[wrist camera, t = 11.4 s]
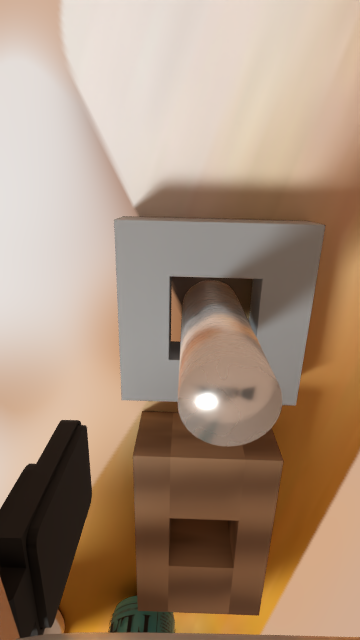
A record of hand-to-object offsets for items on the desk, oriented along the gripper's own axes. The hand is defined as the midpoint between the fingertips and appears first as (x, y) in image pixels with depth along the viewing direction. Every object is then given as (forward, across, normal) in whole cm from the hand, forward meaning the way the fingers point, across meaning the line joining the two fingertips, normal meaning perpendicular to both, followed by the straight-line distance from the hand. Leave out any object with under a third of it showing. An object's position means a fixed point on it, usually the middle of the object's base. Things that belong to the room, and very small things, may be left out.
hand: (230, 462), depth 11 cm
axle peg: (+15, 0, -1) cm, 15 cm away
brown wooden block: (+15, 0, +16) cm, 22 cm away
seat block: (+15, 0, -1) cm, 15 cm away
